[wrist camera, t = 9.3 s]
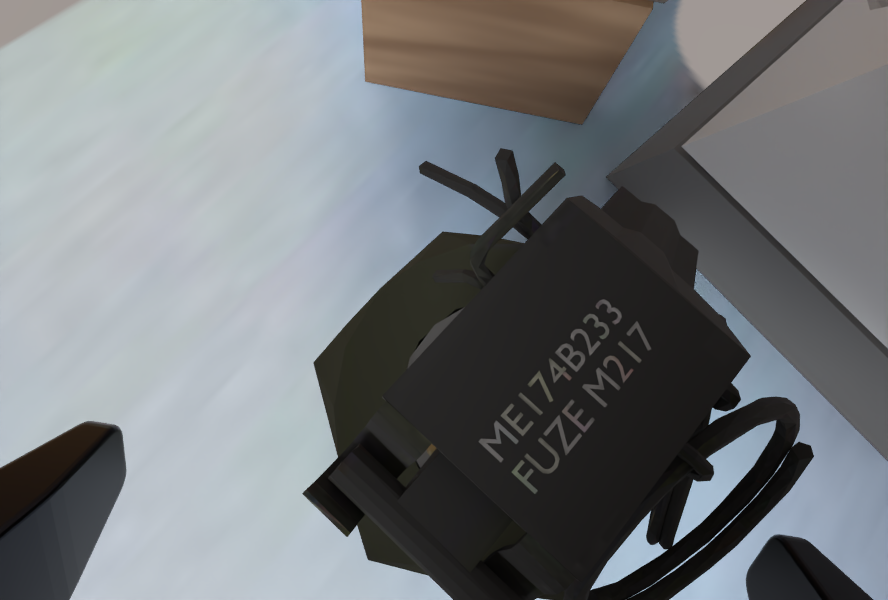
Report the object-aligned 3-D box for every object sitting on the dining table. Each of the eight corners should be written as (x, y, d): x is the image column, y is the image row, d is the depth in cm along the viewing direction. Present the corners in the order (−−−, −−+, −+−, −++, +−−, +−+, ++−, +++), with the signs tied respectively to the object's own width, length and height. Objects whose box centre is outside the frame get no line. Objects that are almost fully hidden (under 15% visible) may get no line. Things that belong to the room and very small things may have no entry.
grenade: (454, 285, 20) (640, -138, 6) (592, 408, 20) (1186, 290, 5) (314, 433, 19) (71, 371, 4) (459, 572, 18) (775, 1069, 4)
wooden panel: (587, 128, 22) (680, -21, 15) (359, 82, 22) (347, -92, 15) (590, 99, 22) (683, -59, 15) (365, 54, 22) (357, -130, 15)
